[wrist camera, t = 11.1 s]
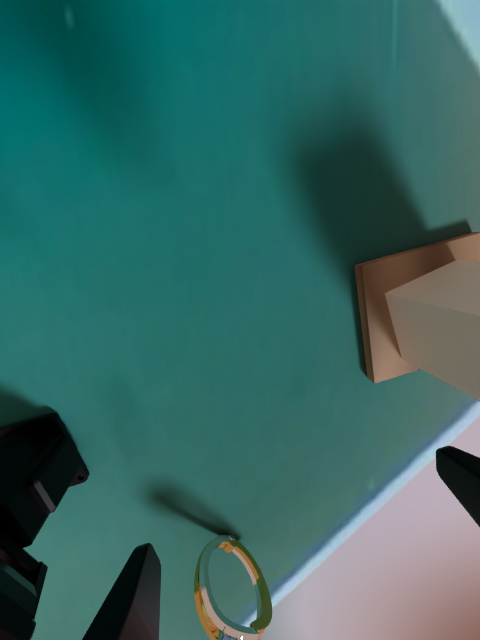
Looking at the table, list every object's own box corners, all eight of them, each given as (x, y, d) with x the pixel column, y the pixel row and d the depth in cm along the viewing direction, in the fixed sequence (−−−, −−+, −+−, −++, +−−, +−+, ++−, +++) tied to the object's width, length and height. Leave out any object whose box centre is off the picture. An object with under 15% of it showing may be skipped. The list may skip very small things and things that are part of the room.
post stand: (367, 377, 22) (400, 403, 19) (354, 264, 20) (390, 268, 16) (470, 346, 23) (524, 365, 19) (472, 232, 20) (535, 227, 16)
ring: (190, 534, 24) (184, 663, 17) (212, 512, 24) (215, 633, 16) (244, 560, 26) (261, 688, 19) (265, 540, 26) (290, 661, 18)
